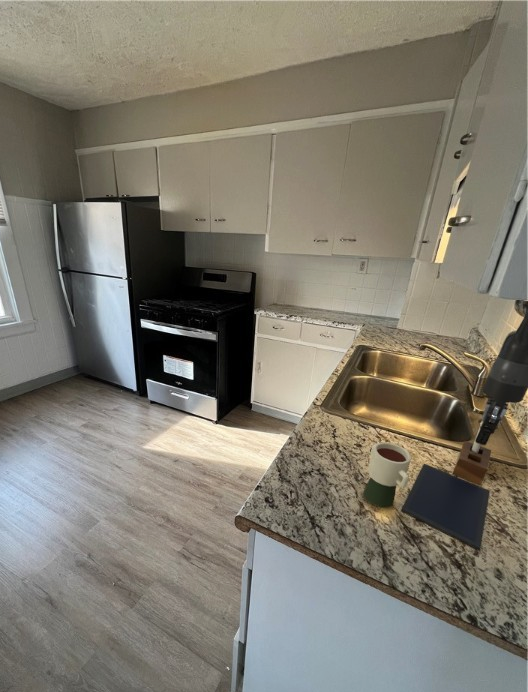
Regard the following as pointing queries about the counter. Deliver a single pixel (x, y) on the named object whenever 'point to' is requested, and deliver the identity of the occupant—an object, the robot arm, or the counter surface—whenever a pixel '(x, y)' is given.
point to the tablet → (449, 505)
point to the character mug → (386, 473)
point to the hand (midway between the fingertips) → (481, 440)
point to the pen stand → (472, 463)
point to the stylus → (476, 445)
